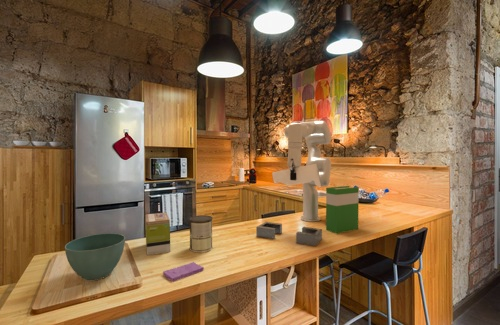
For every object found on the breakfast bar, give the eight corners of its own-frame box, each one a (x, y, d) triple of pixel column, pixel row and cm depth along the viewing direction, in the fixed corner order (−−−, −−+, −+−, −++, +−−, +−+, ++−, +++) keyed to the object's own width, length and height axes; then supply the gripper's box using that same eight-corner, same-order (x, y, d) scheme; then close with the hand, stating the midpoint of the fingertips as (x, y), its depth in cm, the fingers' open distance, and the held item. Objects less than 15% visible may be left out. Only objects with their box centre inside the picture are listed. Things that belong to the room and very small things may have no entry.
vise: (266, 230, 144) (266, 221, 144) (321, 238, 130) (321, 229, 130) (256, 236, 134) (256, 226, 134) (315, 246, 119) (315, 235, 119)
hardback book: (347, 225, 153) (348, 185, 153) (358, 229, 147) (358, 187, 146) (326, 230, 145) (326, 187, 144) (336, 233, 139) (336, 189, 138)
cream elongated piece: (319, 188, 131) (314, 163, 132) (275, 194, 143) (270, 172, 143) (322, 186, 136) (317, 163, 136) (278, 193, 148) (274, 171, 148)
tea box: (145, 244, 123) (145, 213, 122) (167, 241, 127) (167, 211, 126) (146, 255, 109) (145, 221, 108) (170, 252, 113) (170, 218, 112)
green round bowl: (130, 277, 89) (129, 242, 89) (65, 294, 79) (64, 254, 78) (121, 260, 104) (120, 230, 104) (65, 272, 93) (65, 239, 93)
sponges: (163, 276, 91) (162, 271, 91) (193, 265, 100) (193, 261, 100) (172, 283, 86) (172, 277, 86) (204, 271, 95) (203, 266, 95)
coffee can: (185, 248, 117) (185, 217, 117) (204, 242, 124) (204, 214, 124) (197, 254, 110) (197, 221, 109) (217, 248, 117) (217, 217, 117)
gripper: (293, 146, 148) (293, 178, 149) (282, 146, 133) (282, 180, 134) (306, 146, 145) (306, 178, 146) (296, 145, 130) (296, 181, 131)
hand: (295, 179), depth 140 cm, fingers closed on cream elongated piece, 5 cm apart
